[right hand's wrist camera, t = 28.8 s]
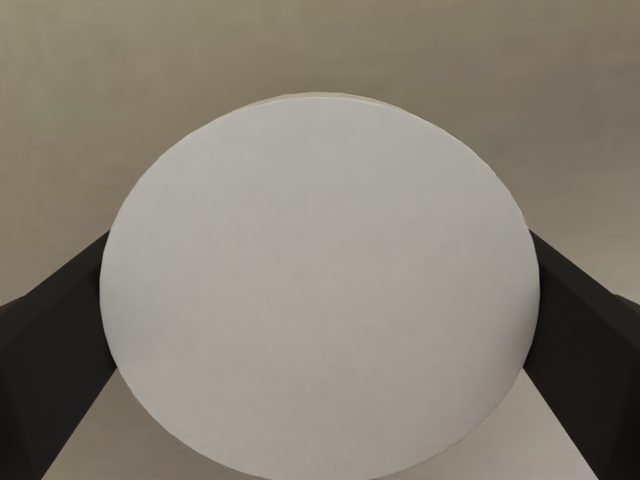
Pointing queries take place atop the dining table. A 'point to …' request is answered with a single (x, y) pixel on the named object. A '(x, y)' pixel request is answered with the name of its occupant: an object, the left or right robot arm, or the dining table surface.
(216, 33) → the dining table surface
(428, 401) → the lid
